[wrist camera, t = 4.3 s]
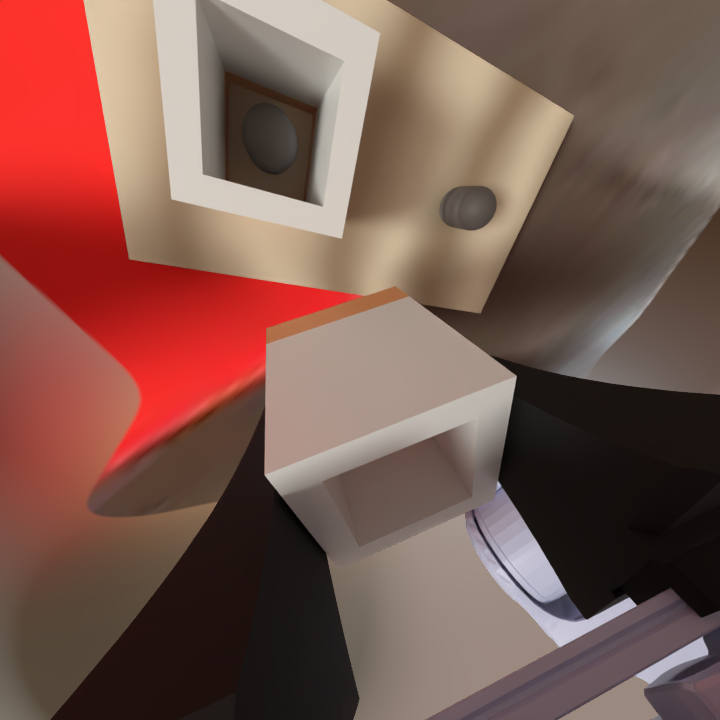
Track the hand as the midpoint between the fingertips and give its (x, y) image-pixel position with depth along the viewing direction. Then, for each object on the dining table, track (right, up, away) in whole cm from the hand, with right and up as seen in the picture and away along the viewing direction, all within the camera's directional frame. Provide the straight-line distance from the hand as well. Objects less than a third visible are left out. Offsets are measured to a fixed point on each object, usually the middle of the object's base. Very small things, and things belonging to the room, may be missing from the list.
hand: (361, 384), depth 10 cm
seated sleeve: (-4, +10, +2) cm, 11 cm away
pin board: (0, +11, +5) cm, 12 cm away
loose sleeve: (-1, +1, +1) cm, 2 cm away
